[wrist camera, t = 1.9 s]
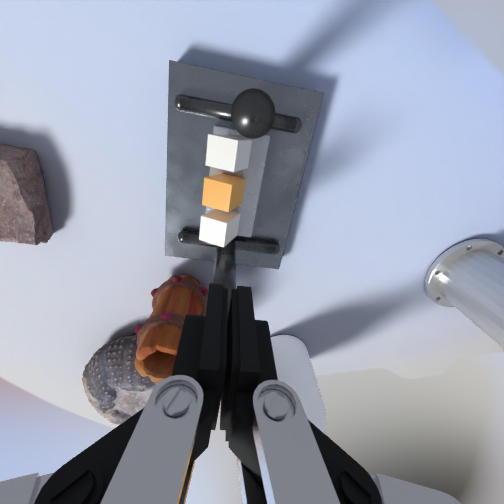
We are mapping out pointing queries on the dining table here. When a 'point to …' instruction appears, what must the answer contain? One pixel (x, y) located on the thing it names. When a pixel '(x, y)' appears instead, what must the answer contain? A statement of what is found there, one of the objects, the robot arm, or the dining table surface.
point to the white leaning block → (219, 227)
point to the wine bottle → (299, 376)
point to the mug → (167, 325)
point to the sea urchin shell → (116, 381)
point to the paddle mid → (223, 192)
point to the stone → (23, 198)
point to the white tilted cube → (228, 152)
